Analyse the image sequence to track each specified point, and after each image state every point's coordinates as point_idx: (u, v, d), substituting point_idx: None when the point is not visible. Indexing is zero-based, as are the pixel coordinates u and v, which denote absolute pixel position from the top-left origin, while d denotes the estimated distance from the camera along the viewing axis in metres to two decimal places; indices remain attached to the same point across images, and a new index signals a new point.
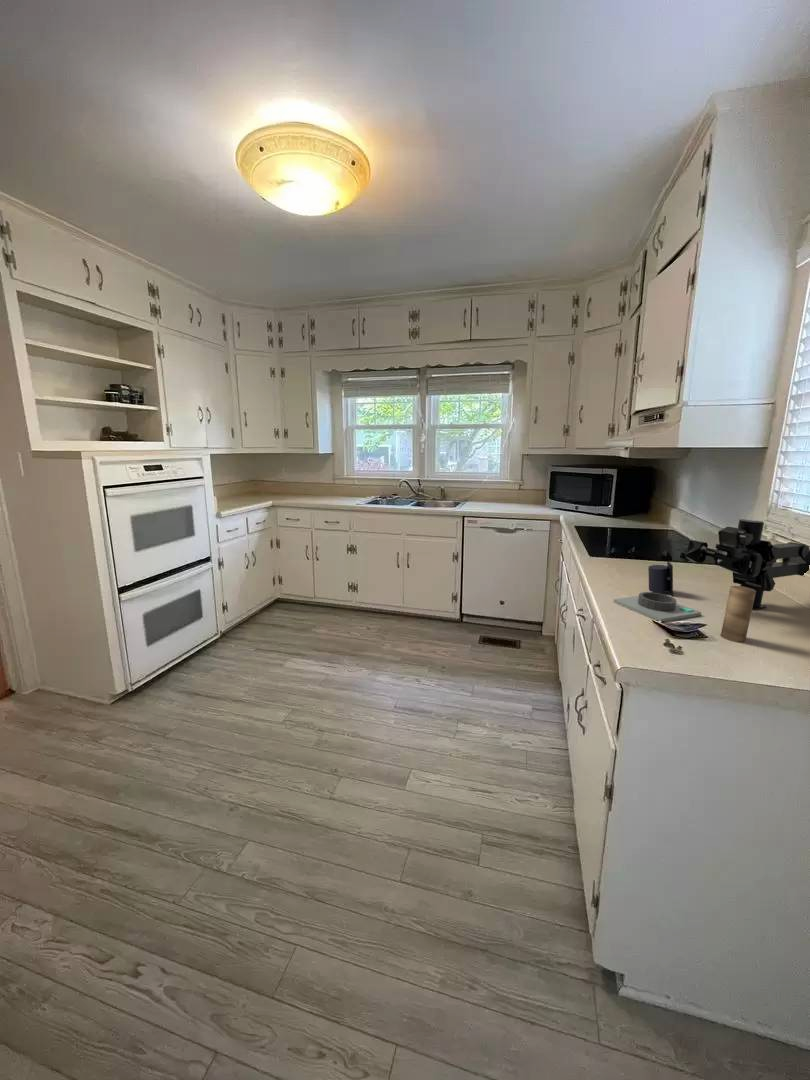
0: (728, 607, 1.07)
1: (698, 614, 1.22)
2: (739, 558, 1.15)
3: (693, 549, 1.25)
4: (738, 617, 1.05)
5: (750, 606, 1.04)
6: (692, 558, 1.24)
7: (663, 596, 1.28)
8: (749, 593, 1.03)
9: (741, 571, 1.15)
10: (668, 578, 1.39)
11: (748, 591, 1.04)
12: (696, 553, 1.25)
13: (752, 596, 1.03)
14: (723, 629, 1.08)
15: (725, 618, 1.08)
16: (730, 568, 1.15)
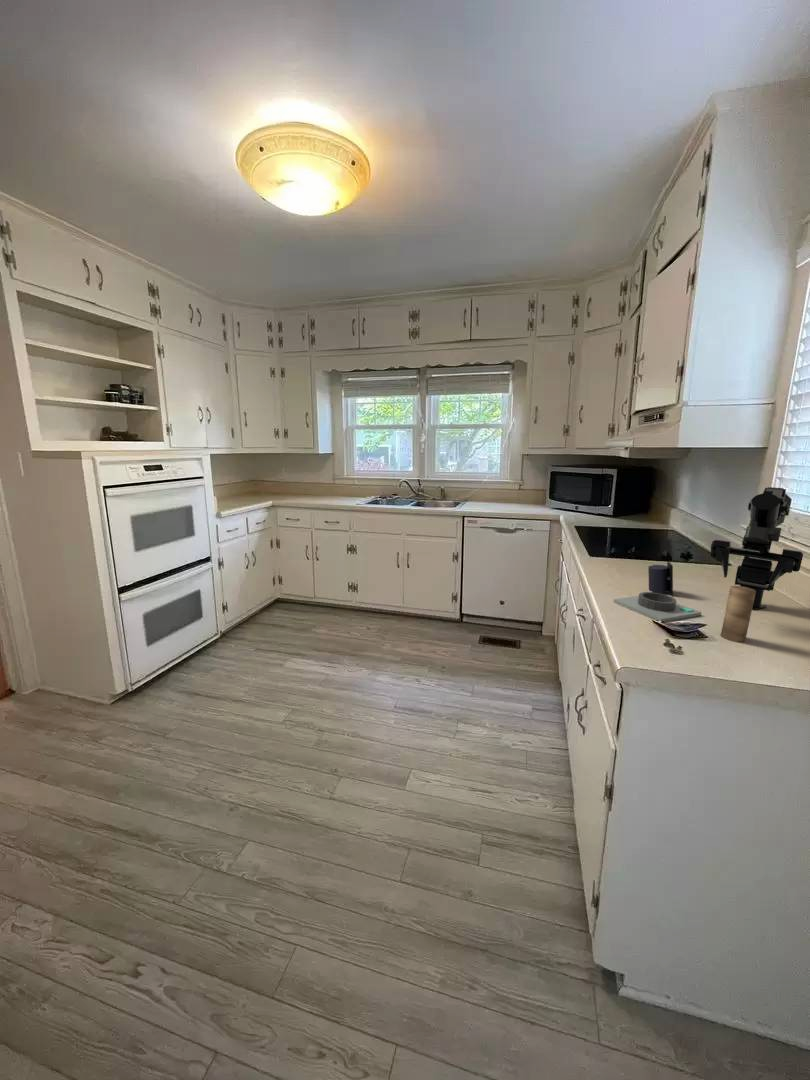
0: (728, 607, 1.07)
1: (698, 614, 1.22)
2: (783, 566, 1.07)
3: (725, 561, 1.15)
4: (738, 617, 1.05)
5: (750, 606, 1.04)
6: None
7: (663, 596, 1.28)
8: (749, 593, 1.03)
9: (785, 570, 1.10)
10: (668, 578, 1.39)
11: (748, 591, 1.04)
12: (728, 561, 1.15)
13: (752, 596, 1.03)
14: (723, 629, 1.08)
15: (725, 618, 1.08)
16: None
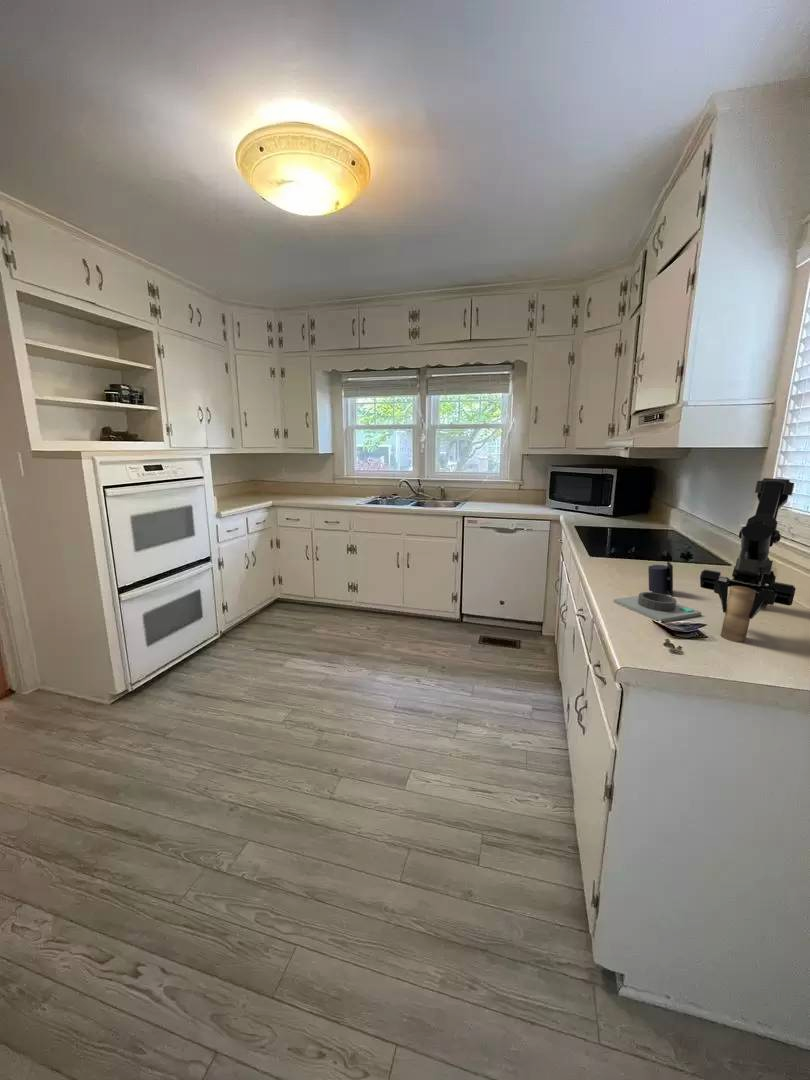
0: (728, 607, 1.07)
1: (698, 614, 1.22)
2: (764, 598, 1.04)
3: (723, 594, 1.09)
4: (738, 617, 1.05)
5: (750, 606, 1.04)
6: None
7: (663, 596, 1.28)
8: (749, 593, 1.03)
9: (767, 602, 1.06)
10: (668, 578, 1.39)
11: (748, 591, 1.04)
12: (727, 595, 1.09)
13: (752, 596, 1.03)
14: (723, 629, 1.08)
15: (725, 618, 1.08)
16: (759, 610, 1.05)
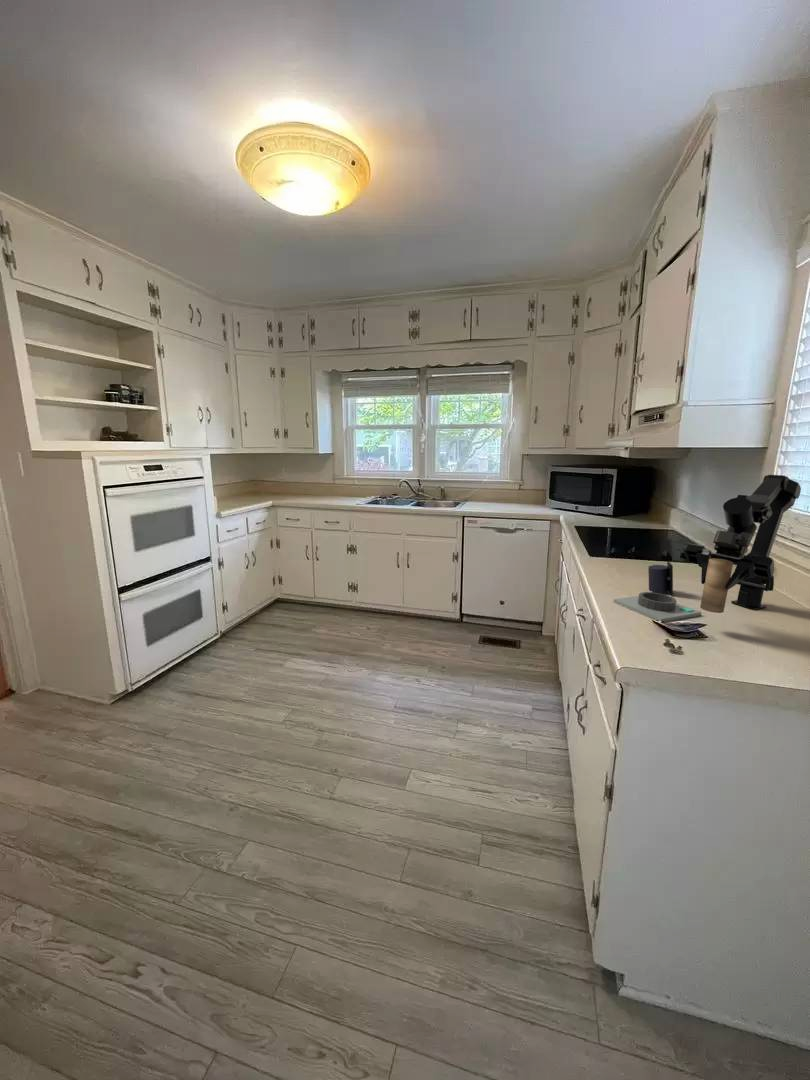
0: (706, 578, 1.10)
1: (698, 614, 1.22)
2: (742, 570, 1.06)
3: (703, 567, 1.12)
4: (714, 587, 1.08)
5: (726, 577, 1.07)
6: None
7: (663, 596, 1.28)
8: (724, 564, 1.06)
9: (747, 575, 1.08)
10: (668, 578, 1.39)
11: (724, 562, 1.06)
12: None
13: (728, 567, 1.06)
14: (702, 600, 1.11)
15: (703, 589, 1.11)
16: (737, 582, 1.07)
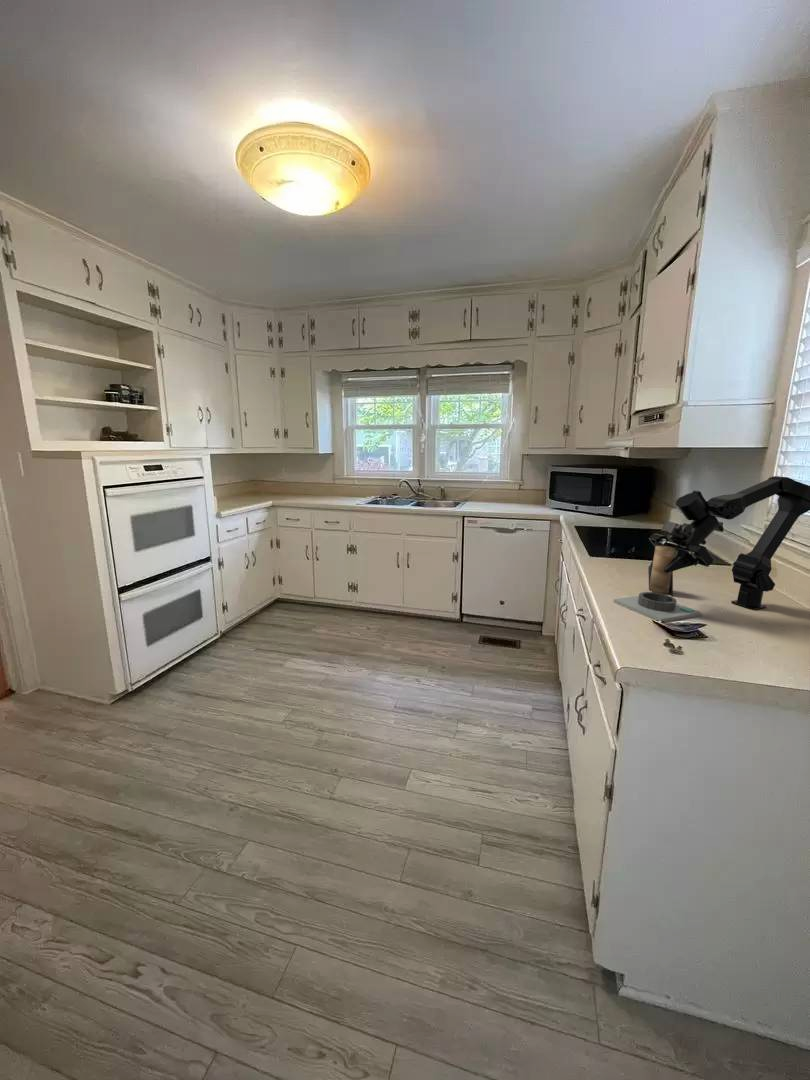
0: (653, 562, 1.25)
1: (698, 614, 1.22)
2: (680, 557, 1.19)
3: None
4: (655, 570, 1.23)
5: (665, 562, 1.21)
6: None
7: (663, 596, 1.28)
8: (663, 550, 1.21)
9: (691, 563, 1.20)
10: None
11: (664, 548, 1.21)
12: None
13: (666, 553, 1.21)
14: None
15: None
16: (678, 568, 1.20)
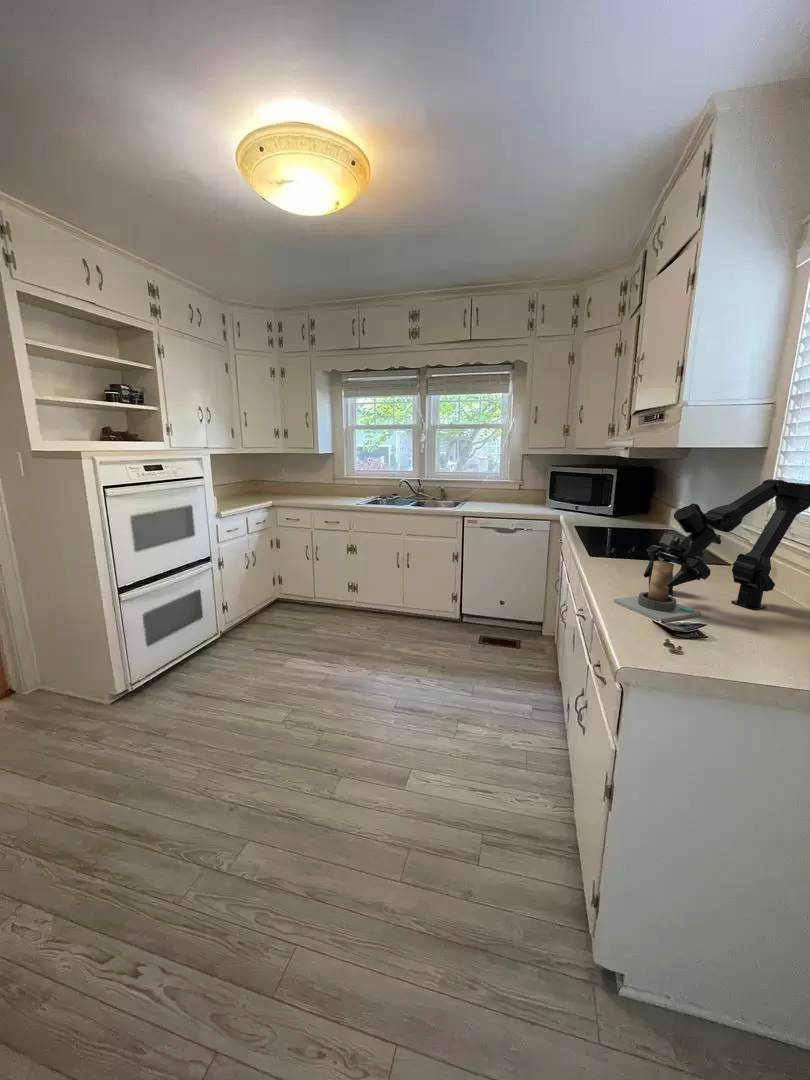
0: (651, 577, 1.26)
1: (698, 614, 1.22)
2: (683, 571, 1.18)
3: (650, 563, 1.29)
4: (653, 585, 1.24)
5: (663, 577, 1.22)
6: None
7: None
8: (661, 565, 1.22)
9: (694, 577, 1.19)
10: None
11: (662, 564, 1.22)
12: None
13: (664, 568, 1.22)
14: None
15: None
16: (681, 582, 1.19)
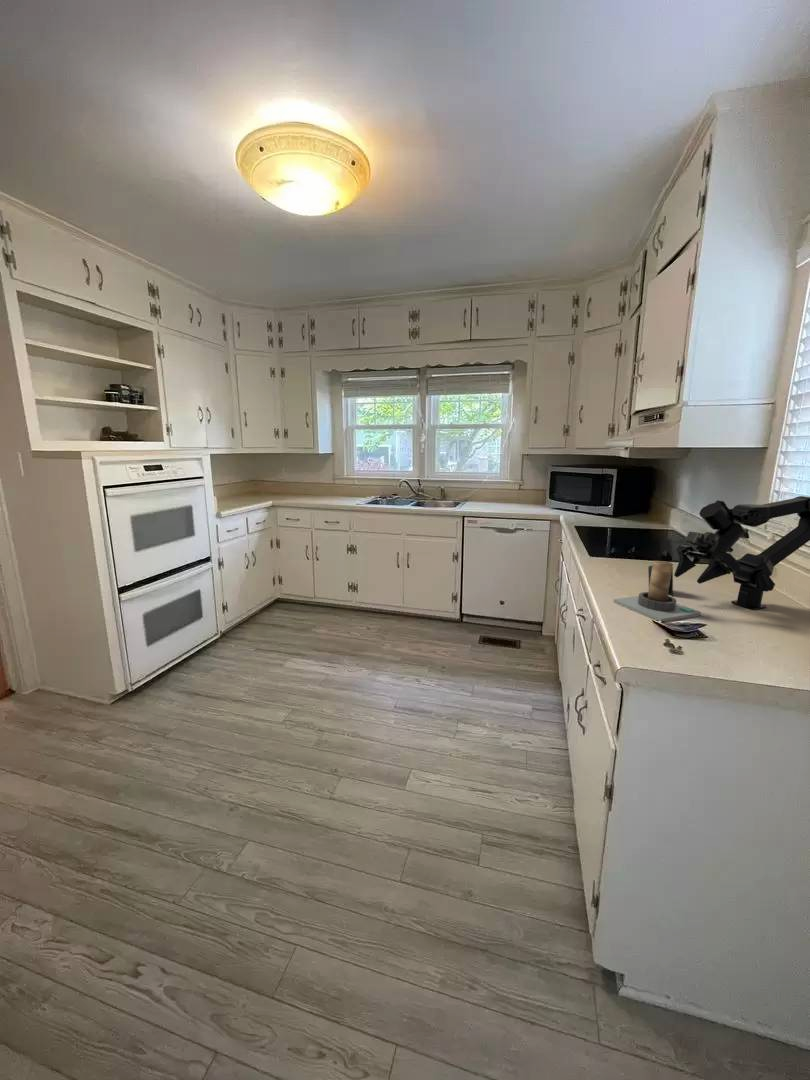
0: None
1: (698, 614, 1.22)
2: (712, 566, 1.20)
3: (679, 563, 1.31)
4: (653, 585, 1.24)
5: (662, 577, 1.22)
6: (684, 571, 1.31)
7: None
8: (660, 565, 1.22)
9: (724, 572, 1.19)
10: None
11: (662, 564, 1.22)
12: (685, 564, 1.31)
13: (664, 568, 1.22)
14: None
15: None
16: (712, 577, 1.21)
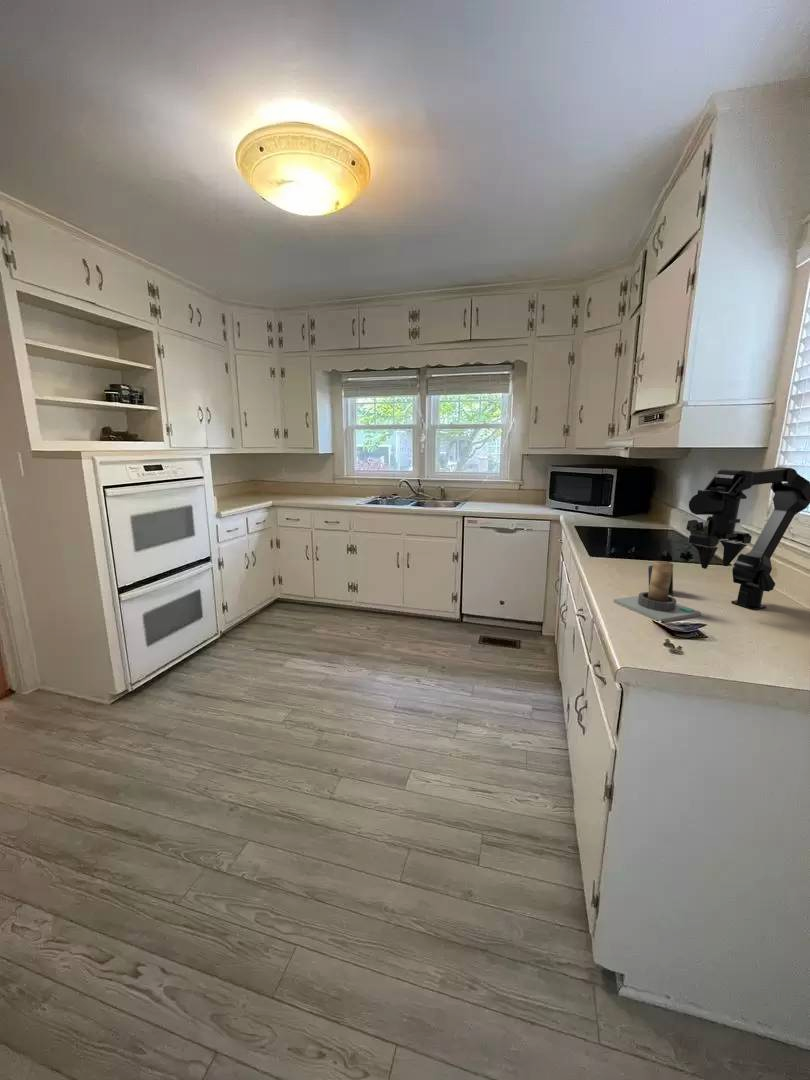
0: None
1: (698, 614, 1.22)
2: None
3: None
4: (653, 585, 1.24)
5: (663, 577, 1.22)
6: (731, 557, 1.25)
7: None
8: (661, 565, 1.22)
9: (710, 549, 1.19)
10: None
11: (662, 564, 1.22)
12: (728, 550, 1.26)
13: (664, 568, 1.22)
14: None
15: None
16: (707, 558, 1.21)
